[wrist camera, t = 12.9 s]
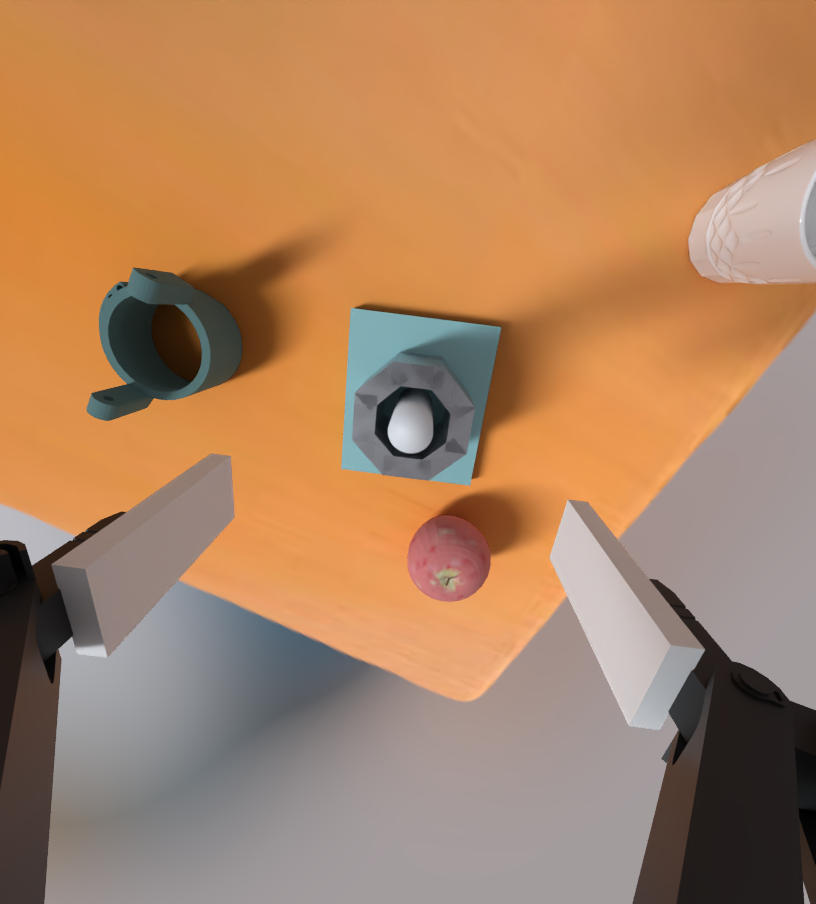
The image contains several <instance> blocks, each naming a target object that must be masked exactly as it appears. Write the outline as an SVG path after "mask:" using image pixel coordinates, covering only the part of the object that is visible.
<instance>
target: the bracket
mask: <svg viewBox="0 0 816 904" xmlns="http://www.w3.org/2000/svg"><path fill="white" fill-rule="evenodd" d="M159 304H174V305H175V306H177V307H178V308H179V309H180V310H181V311H182V312H183V313H184V314H185V315H186V316H187V317H188V318H189V320H190V321H191V322H192V324H193V326H194V328H195V329H196V331H197V334H198V337H199V339H200V343H201V349H202V361H201V366H200V369H199V372H198V374H197V376H196V377H195V378H194V380H193V381H192V382H190V381H187V380H185V379H183V378H181V377H179V376H178V375H177V374H175V373H174V372H172V371H171V370H170V369H169V368H168V367H167V366H166V364H165V363H164V362H163V361H162V359H161V358H160V356H159V354H158V352H157V351H156V348H155V345H154V343H153V338H152V327H151V326H152V319H153V316H154V313H155V310H156V309H157V307H158V306H159ZM99 332H100V339H101V343H102V347H103V350H104V353H105V355H106V357H107V359H108V361H109V363H110V364H111V366H112V367H113V369H114V370H115V371H116V373H117V374H118V375H119V376H120V377H121V378H122V379H123V380H124V381H125V382H126V383H127V384H126V385H122V386H118V387H114V388H110V389H106V390H102V391H98V392H94V393H92V394H91V397H90V400H89V403H88V406H87V412H88V413H89V414H90V415H91V416H93V417H95V418H98V419H101V420H105V421H109V420H113V419H116V418H119V417H122V416H125V415H127V414H130V413H133V412H136V411H139V410H142V409H145V408H147V407H148V406H149V404H150V403H151V401H152V400H153V399H154V398H156V399H162V400H176V399H180V398H184V397H187V396H189V395H192V394H195V393H198V392H201V391H203V390H206V389H209V388H212V387H214V386H217V385H220V384H222V383H224V382H225V381H227V380H228V379H229V378H230V377H232V376H233V374H234V373H235V372H236V370H237V368H238V366H239V364H240V361H241V357H242V339H241V334H240V331H239V328H238V326H237V323H236V321H235V319H234V318H233V316H232V315H231V313H230V312H229V311H228V309H227V308H226V307H225V306H224V305H223V304H222V303H220V302H218V301H217V300H215V299H214V298H212V297H211V296H209V295H208V294H206V293H205V292H203V291H200V290H197V289H194V287H193V286H192V285H190V284H189V283H187V282H186V281H184V280H182V279H181V278H179V277H178V276H176V275H175V274H173V273H169V272H162V271H155V270H148V269H141V268H134V267H133V270H132V273H131V276H130V279H129V282H119V283H118V284H116V285H115V286H114V287H113V288H112V289H111V290H110V291H109V292H108V293H107V295H106V297H105V298H104V300H103V303H102V305H101V308H100V314H99Z"/></svg>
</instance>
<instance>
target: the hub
mask: <svg viewBox="0 0 816 904" xmlns="http://www.w3.org/2000/svg"><path fill="white" fill-rule="evenodd" d="M400 386H403V387H411V388H420V389H428V390H432V391H433V392H434V393H435V395H436V396H437V397H438V399H439V400H440V401H441V402H442V404H443V405H444V406H445V412H444V419H443V421H441V422H440V423H439V424H437V425H436V426H434V427H433V437H432V440H431V442H430V444H429V445H428V446H427V447H426V448H425V449H424V450H422V451H420V452H417V453H405V452H402V451H400V450H398V449H397V448H395V447H394V446H393V445H392V443H391V442H390V439H389V436H388V426H389V423H390V419H389V418H388V417H387V416H386V415H385V413H384V407H385V398H386V397H388V396H389V395H390V394H391V393H393V392H394V391H395V390H396V389H398V388H399V387H400ZM474 411H475V406H474V404H473V402H472V400H471V398H470V395H469V393H468V391H467V389H466V388H465V387H464V385H463V384H462V383H461V381H460V380H459V379H458V377H457V376H456V375H455V373H454V372H453V371H452V369H451V368H450V367H449V365H448V364H447V363H446V361H445V360H444V359H443V357H439V356H430V355H422V354H414V353H405V352H399V353H398V354H397V355H396V356H394V357H393V358H392V359H391V360H390V361H388V362H387V363H386V364H385V365H383V366H382V367H381V368H380V369H379V370H377V371H376V372H375V373H374V374H373V375H371V376H370V377H369V378H368V379H367V380H366V381H365V382H364V383H363V384H362V385H361V387H360V388H359V389H358V390H357V391H356V392H355V397H354V414H353V431H352V441H353V442H354V443H355V444H356V445H357V446H358V448H359V449H360V450H361V451H362V452H363V453H364V454H365V455H366V457H367V458H368V459H369V460H370V461H371V462H372V463H373V465H374V466H375V467H376V468H377V469H378V470H379V471H380V472H381V474H382V475H388V476H396V477H404V478H412V479H420V480H428V481H429V480H430V479H432V478H433V477H434V476H436V475H437V474H439V473H440V472H442V471H443V470H445V469H446V468H447V467H449V466H450V465H452V464H453V463H455V462H456V461H458V460H459V459H460V458H462V457H463V456H465V455H466V454H467V450H468V444H469V439H470V433H471V427H472V422H473V416H474Z"/></svg>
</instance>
